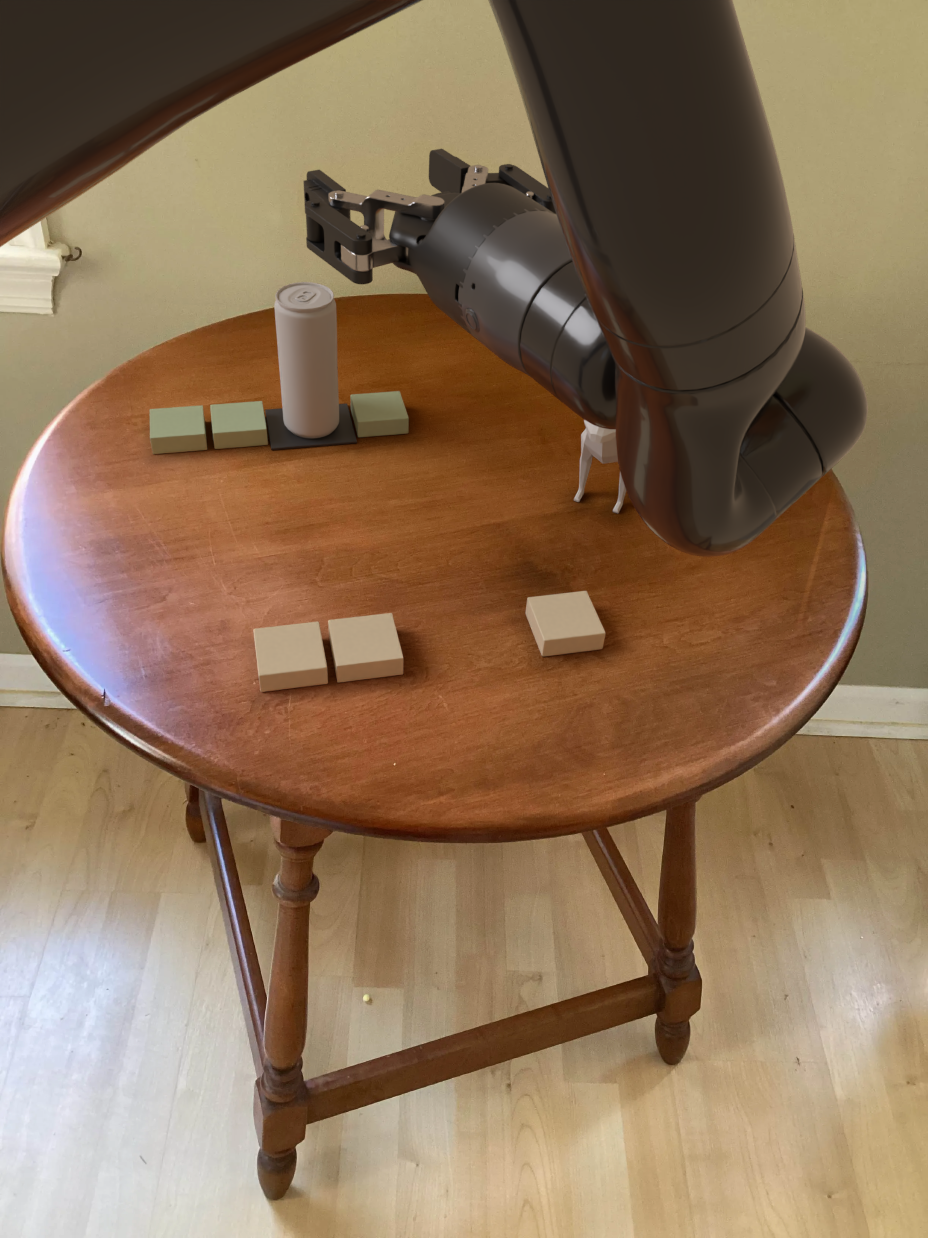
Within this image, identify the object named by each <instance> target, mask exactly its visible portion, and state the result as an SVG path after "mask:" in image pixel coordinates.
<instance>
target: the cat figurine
mask: <svg viewBox="0 0 928 1238" xmlns="http://www.w3.org/2000/svg"><path fill="white" fill-rule="evenodd" d="M583 423H584V426H585V429H584V430H583V432H581V434H580V458H579V474H578V475H579V478H578V479H579V481H578V490H577V492H576V494H575V496H574V498H573V502H577V503H580V501H581V499H582V498H583V496H584V494H585V488H586V485H587V482H588V476H589V475H590V474H589V473H590V471H591V467H592V462H593V458H595V459H597V460H598V461H599V462H600V463H601V464H603V465H604V464H605V465H606V464H610V463H611V464H612V463H618V457H617V446H616V429H605V428H601V427H597V426H595V425H593V424H591V423H589V422H587V421H586V420H584V419H583ZM618 465H619V463H618ZM618 481H619V482H618V496H617V501H616V504H615V505H614V507H613V509H612V513H615V514H619V513H620V511H621V510H622V507H623V505H624V500H625V497H626V493H627V491H626V488H625V485H624V482H623V480H622V476H621V472H620V471H619V480H618Z"/></svg>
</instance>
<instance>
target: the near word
mask: <svg viewBox="0 0 928 1238" xmlns="http://www.w3.org/2000/svg"><path fill="white" fill-rule="evenodd" d="M525 616H526V619H527V621H528V624H529V627H530V628H531V632H532V634H533V637H534V641H535V642H536V645H537V647H538V650H539V653H540V656H541V657H550V656H557V655H558V656H559V655H567V654H574V653H583V652H590V651H597V650H598V651H599V650H602V649H604V643H605V639H606V630H605V628H604V626H603V623H602V621H601V619H600V617H599V615H598V612H597V611H596V608H595V606H594V604H593V602H592V599H591V596H590V595H589V593H588V591H587V590H581V591H572V592H564V593H563V592H562V593H554V594H545V595H537V596H528V597H527V599H526V607H525ZM327 626H328V627H327V629H328V639H329V646H330V649H331V655H332V660H333V662H332V663H333V667H334V672H335V677H336V682H337V683H345V682H354V681H361V680H368V679H377V678H386V677H392V676H401V675H402V676H403V674H404V655H403V650H402V647H401V641H400V639H399V635H398V631H397V627H396V622H395V618H394V615H393V612H388V613H377V614H370V615H360V616H351V617H343V618H335V619H328V620H327ZM252 631H253V640H254V649H255V650H254V651H255V658H256V666H257V667H256V668H257V676H258V683H259V692H260V693H265V692H272V691H273V692H274V691H279V690H287V689H288V690H289V689H294V688H304V687H313V686H320V685H327V684H329V675H328V664H327V660H326V659H327V658H326V653H325V647H324V642H323V641H324V640H323V636H322V630H321V624H320V621H309V622H301V623H292V624H284V625H275V626H265V627H257V628H253V630H252Z"/></svg>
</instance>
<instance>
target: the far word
mask: <svg viewBox="0 0 928 1238" xmlns="http://www.w3.org/2000/svg"><path fill="white" fill-rule="evenodd" d="M349 399H350V409H349V405H348V403H339V424H338V426H337V428H336V429H335V430H334V431H333V432H332V433H330V434H329V435H327V436H324V437H321V438H314V439H311V438H303V437H299V436H297V435H295V434H293V433H292V432H291V431H289V430H288V428H287V427H286V426H285V424H284V421H283V408H282V407H279V408H269V409H264V402H263V400H256V401H243V402H242V401H241V402H229V403H215V404H210V405H209V406H210V407H209V408H210V420H211V431H212V440H213V446H214V449H215V450H219V449H220V450H223V449H234V448H247V447H258V446H268V445H269V444H270V450H271V451H278V450H290V449H292V450H293V449H302V448H314V447H315V448H316V447H328V446H339V445H340V446H341V445H351V444H357V443H358V441H357V438H369V437H370V438H371V437H381V436H392V435H393V436H394V435H404V434H405V435H406V434H409V431H410V429H409V428H410V427H409V423H410V417H409V415H408V412H407V408H406V405H405V403H404V400H403V397H402V393H401V391H400V390H394V391H381V392H368V393H366V392H365V393H353V394H352V393H351V394H350V398H349ZM350 412H351V413H350ZM352 419H353V421H352ZM353 423H354V424H353ZM354 427H355V429H354ZM355 431H356V432H355ZM356 436H357V437H356ZM268 437H269V438H268ZM268 439H269V441H268ZM149 441H150V446H151V451H152V455H159V454H160V455H161V454H172V453H184V452H195V451H196V452H197V451H198V452H199V451H207V450H208V439H207V427H206V418H205V411H204V405H203V404H202V405H201V404H200V405H189V406H188V405H187V406H186V405H185V406H173V407H159V408H149Z"/></svg>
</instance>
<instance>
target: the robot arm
mask: <svg viewBox="0 0 928 1238" xmlns="http://www.w3.org/2000/svg"><path fill="white" fill-rule="evenodd" d="M422 1H424V0H0V248H2V247H3V246H5V245H6V244H7V243H9V242H10V241H12V240H13V239H15V238H16V237H18V236H19V235H21V234H22V233H24V232H26V231H28V230H29V229H31V228H32V227H34V226H36V225H37V224H39V223H40V222H41V221H43V220H45V219H47V218H48V217H49V216H51V215H52V214H54V213H56V212H58V211H59V210H60V209H62V208H63V207H66V206H67V205H68V204H70V203H71V202H73V201H75V200H76V199H77V198H79V197H81V196H82V195H84V194H85V193H87V192H88V191H90V190H91V189H93V188H95V187H97V185H99V184H101V183H102V182H103V181H106V179H108V178H110V177H112V176H113V175H114V174H115V173H117V172H119V171H120V170H122V169H123V168H125V167H126V166H127V165H129V164H130V163H132V162H133V161H135V160H136V159H137V158H139V157H140V156H141V155H143V154H145V153H146V152H147V151H149V150H150V149H151V148H153V147H154V146H156V145H157V144H159V143H160V142H161V141H164V139H166V138H167V137H169V136H171V135H172V134H174V133H175V132H177V131H179V130H180V129H181V128H182V127H184V126H185V125H187V124H189V123H190V122H192V121H193V120H195V119H197V118H199V117H200V116H202V115H204V114H205V113H207V112H208V111H210V110H212V109H214V108H215V107H217V106H219V105H221V104H223V103H224V102H226V101H227V100H230V99H231V98H233V97H235V96H237V95H239V94H241V93H243V92H244V91H247V90H248V89H250V88H252V87H255V86H256V85H258V84H260V83H261V82H263V81H265V80H267V79H269V78H271V77H273V76H275V75H277V74H278V73H280V72H283V71H284V70H286V69H289V68H290V67H292V66H294V65H297V64H299V63H300V62H302V61H304V60H306V59H308V58H310V57H313V56H314V55H317V54H319V53H320V52H322V51H325V50H326V49H328V48H330V47H332V46H334V45H336V44H338V43H340V42H343V41H344V40H347V39H348V38H351V37H353V36H354V35H356V34H358V33H361V32H362V31H364V30H366V29H368V28H371V27H372V26H375V25H376V24H379V23H381V22H383V21H385V20H387V19H388V18H391V17H392V16H394V15H396V14H399V13H401V12H403V11H406V10H407V9H408V8H411V7H412V6H415V5H416V4H418V3H421V2H422ZM488 3H489V6H490V8H491V12H492V14H493V17H494V19H495V22H496V24H497V27H498V29H499V30H498V31H499V33H500V35H501V38H502V41H503V45H504V47H505V51H506V53H507V56H508V59H509V62H510V66H511V68H512V72H513V75H514V77H515V80H516V84H517V87H518V90H519V93H520V96H521V97H520V98H521V99H522V100H521V101H522V103H523V106H524V110H525V114H526V117H527V120H528V123H529V126H530V130H531V133H532V137H533V140H534V143H535V146H536V147H535V148H536V151H537V154H538V158H539V161H540V164H541V169H542V171H543V175H544V177H545V178H544V179H545V182H546V185H547V186H546V185H545V184H543V183H542V182H540V181H539V180H538V179H536V178H535V177H533V176H532V175H530V174H529V173H528V172H526V171H524V170H523V169H521V168H520V167H519V166H517V165H515V164H512V163H504V164H500V165H499V166H498V172H489V168H488V167H487V166H485V165H482V164H474V165H470V164H469V163H468V162H466V161H464V160H462V159H461V158H460V157H457V156H456V155H453V154H452V153H450V152H449V151H447V150H446V149H444V148H437V149H432V150H430V151H429V155H428V181H429V183H430V185H431V186H432V187H433V188H434V189H435V190H437V191H439V192H437V193H434V194H431V195H429V194H420V195H419V196H412V195H407V194H403V193H399V192H398V193H397V192H392V191H387V190H383V189H375V190H373V191H372V192H371V193H370V194H369V195H364V194H360V193H354V192H350V191H347V189H346V188H345V187H343V186H342V185H341V184H339V183H338V182H337V181H335V180H334V179H333V178H331V177H330V176H329V175H327V174H326V173H325V172H324V171H323V170H321V169H315V170H309V171H307V173H306V179H305V180H303V199H304V201H303V203H304V214H305V226H306V227H305V229H306V238H305V240H306V241H305V242H306V248H307V249H308V250H309V251H310V252H312V253H313V254H314V255H316V256H317V257H318V258H320V259H322V261H324V262H325V263H326V264H328V265H329V266H331V267H332V268H333V269H335V270H336V271H337V272H338V273H340V274H341V275H342V276H344V277H345V278H346V279H348V280H349V281H350V282H351V283H353V284H356V285H368V284H370V283H372V282H373V279H374V278H373V275H374V274H373V269H374V268H379V267H382V266H387V265H390V264H393V266H395V267H396V268H398V269H400V270H404V271H406V272H410V273H412V274H414V275H416V277H417V278H418V280H419V281H420V283H421V285H422V286H423V288H424V291H425V292H426V294H427V295H428V297H429V299H430V300H431V301H432V303H433V304H434V306H436V308H438V309H439V310H440V311H441V312H442V313H444V314H445V315H446V316H447V317H449V318H450V320H452V321H453V322H455V323H456V324H457V325H458V326H460V327H461V328H462V329H463V330H464V331H466V332H467V333H468V334H469V335H471V336H472V337H473V338H474V339H476V340H477V341H478V342H479V343H480V344H481V345H483V346H484V347H485V348H486V349H487V350H489V351H490V352H491V353H493V355H495V356H496V357H498V358H499V359H500V360H501V361H503V362H505V363H506V364H507V365H509V366H510V367H512V368H514V369H516V370H517V371H519V372H521V373H523V374H525V375H527V376H528V377H530V378H531V379H533V380H534V381H535V382H536V383H537V384H539V385H540V386H541V387H542V388H544V389H545V390H546V391H547V392H549V393H550V394H551V395H552V396H554V397H555V398H556V399H557V400H558V401H560V402H561V403H563V404H564V406H566V407H567V408H568V409H569V410H570V411H572V412H573V413H574V414H576V415H577V416H578V417H580V418H581V419H582V420H583V421H584V420H586V421H587V422H589V423H591V424H593V425H595V426H597V427H601V428H605V429H616V446H617V457H618V462H617V463H619V464H618V468H619V473H620V472H621V476H622V480H623V482H624V485H625V488H626V493H627V495H628V498H629V500H630V502H631V504H632V506H633V508H634V509H635V511H636V512H637V514H638V516H639V517H640V518H641V520H642V522H643V523H644V524H645V525H646V526H647V528H648V529H649V530H650V531H651V532H652V533H653V534H655V535H656V536H657V538H659V539H660V540H661V541H662V542H664V543H665V544H666V545H668V546H670V547H671V548H673V549H675V550H677V551H679V552H681V553H683V554H687V555H689V556H694V557H695V556H696V557H703V558H713V557H714V558H715V557H722V556H723V557H724V556H727V555H730V554H733V553H736V552H738V551H740V550H742V549H743V548H745V547H747V546H748V545H750V544H751V543H752V542H753V541H755V540H756V539H757V538H758V537H760V536H761V535H762V534H763V533H764V532H765V531H766V530H767V529H768V528H769V527H771V526H772V524H773V523H774V522H776V521H777V519H779V518H780V517H781V516H782V515H784V513H785V512H786V511H788V509H789V508H791V507H792V506H793V505H794V504H795V503H796V502H798V500H799V499H801V497H802V496H804V495H805V494H806V493H807V492H808V491H809V490H810V489H811V488H813V486H814V485H816V483H818V482H819V481H820V480H821V478H823V477H824V476H825V475H826V474H828V472H830V471H831V470H832V469H833V468H834V467H835V466H837V464H838V463H840V462H841V461H842V460H843V459H844V458H845V457H846V456H847V455H848V454H849V453H850V452H851V451H852V450H853V448H854V447H855V446H856V445H857V443H858V442H859V441H860V439H861V437H862V435H863V433H864V432H865V429H866V426H867V422H868V413H869V402H868V398H867V393H866V389H865V387H864V383H863V382H862V379H861V377H860V375H859V373H858V371H857V370H856V368H855V366H854V365H853V364H852V362H851V361H850V360H849V358H848V357H847V356H846V355H845V354H844V353H843V352H842V351H841V349H839V348H838V347H837V346H835V345H834V344H833V342H831V341H830V340H828V339H827V338H826V337H824V336H823V335H821V334H819V333H817V332H815V331H814V330H812V329H811V328H809V327H807V316H806V315H807V314H806V313H807V312H806V310H807V309H806V301H805V295H804V291H803V282H802V281H803V280H802V276H801V270H800V263H799V258H798V252H797V245H796V238H795V233H794V227H793V221H792V217H791V212H790V211H791V210H790V208H789V207H790V206H789V203H788V197H787V192H786V188H785V183H784V179H783V173H782V170H781V165H780V162H779V157H778V154H777V149H776V145H775V142H774V138H773V134H772V131H771V127H770V124H769V120H768V116H767V114H766V110H765V107H764V102H763V100H762V96H761V92H760V89H759V86H758V83H757V79H756V76H755V75H756V74H755V73H754V68H753V65H752V63H751V59H750V55H749V51H748V49H747V45H746V42H745V38H744V36H743V35H744V34H743V32H742V28H741V25H740V21H739V18H738V15H737V11H736V8H735V4H734V0H488ZM385 210H387V211H392V212H394V214H393V218H392V222H391V226H390V230H389V233H388V238H386V236H385ZM351 211H353V212H357V213H360V214H362V216H363V224H362V225H359V224H357V223H355V222H354V221H353V220H351V217H352V216H351Z"/></svg>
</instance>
